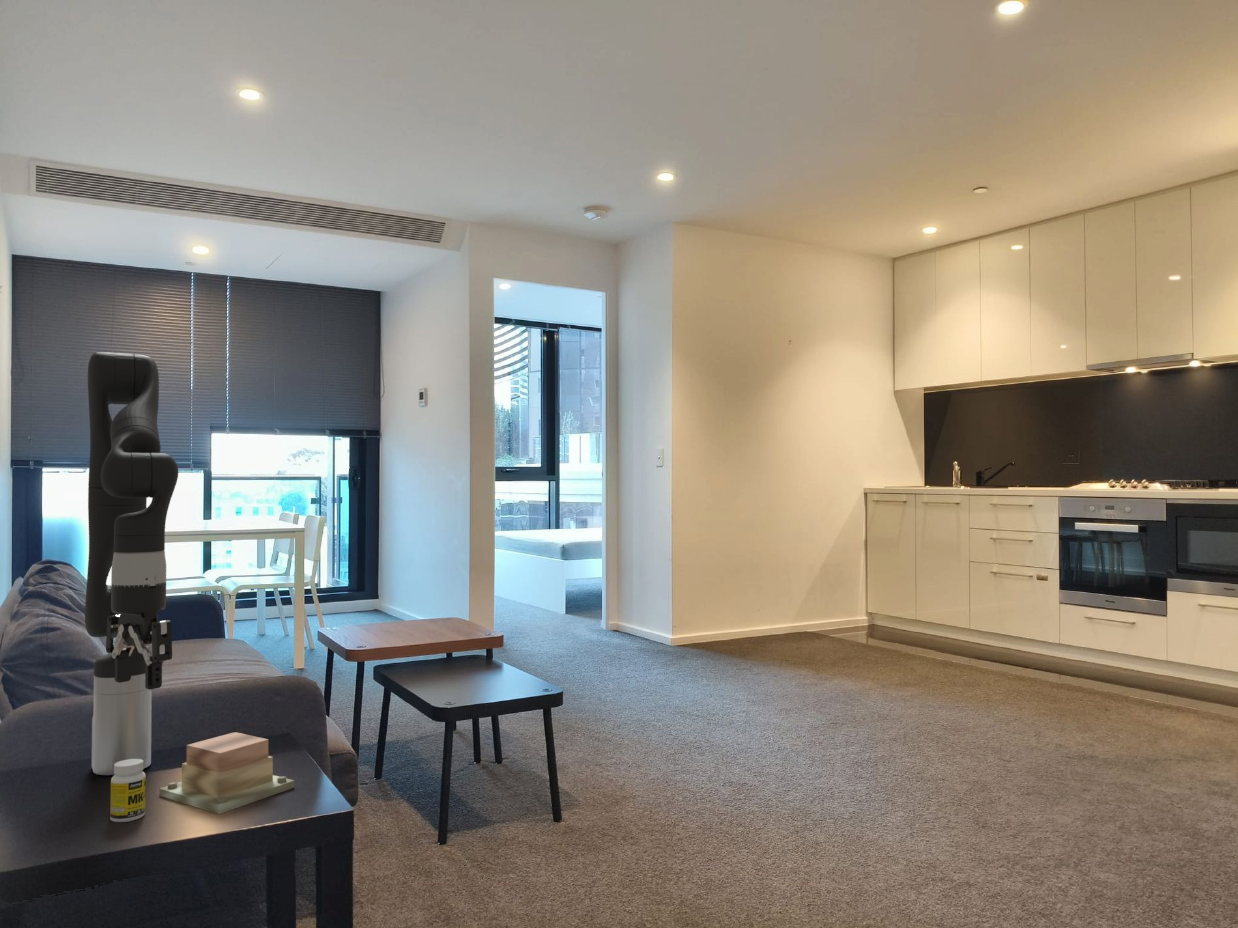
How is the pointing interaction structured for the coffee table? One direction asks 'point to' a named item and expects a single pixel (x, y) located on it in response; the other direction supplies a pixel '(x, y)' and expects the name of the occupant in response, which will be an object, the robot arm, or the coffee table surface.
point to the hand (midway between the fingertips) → (138, 684)
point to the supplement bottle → (128, 791)
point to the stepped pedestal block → (226, 774)
